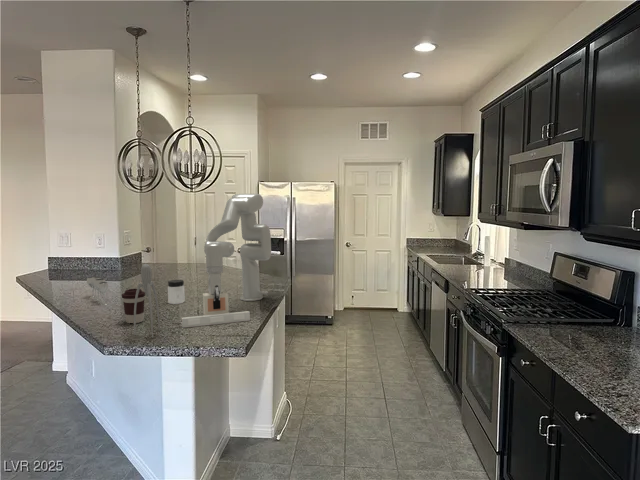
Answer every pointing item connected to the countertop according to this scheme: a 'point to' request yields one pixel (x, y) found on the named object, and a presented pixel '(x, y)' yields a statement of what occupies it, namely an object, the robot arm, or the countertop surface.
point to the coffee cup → (129, 305)
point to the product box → (208, 304)
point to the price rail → (215, 319)
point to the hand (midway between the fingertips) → (215, 306)
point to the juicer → (146, 284)
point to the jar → (176, 292)
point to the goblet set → (98, 287)
